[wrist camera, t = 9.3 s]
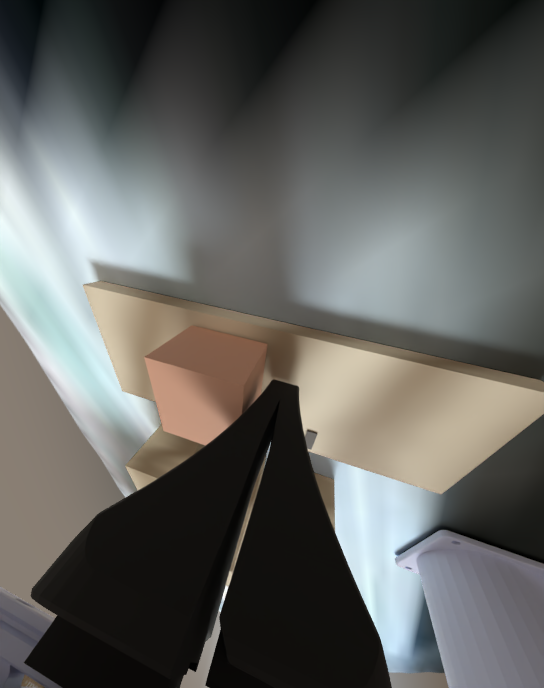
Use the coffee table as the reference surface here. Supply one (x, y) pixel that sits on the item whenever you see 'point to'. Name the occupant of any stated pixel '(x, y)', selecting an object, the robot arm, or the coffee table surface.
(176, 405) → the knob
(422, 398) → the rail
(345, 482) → the coffee table surface
